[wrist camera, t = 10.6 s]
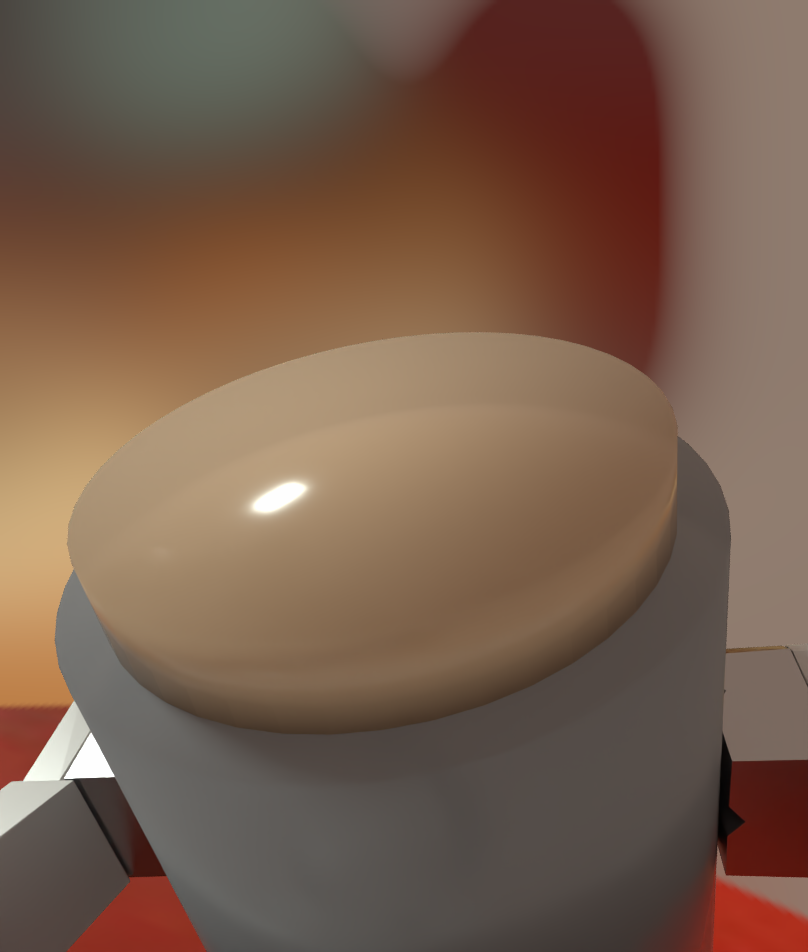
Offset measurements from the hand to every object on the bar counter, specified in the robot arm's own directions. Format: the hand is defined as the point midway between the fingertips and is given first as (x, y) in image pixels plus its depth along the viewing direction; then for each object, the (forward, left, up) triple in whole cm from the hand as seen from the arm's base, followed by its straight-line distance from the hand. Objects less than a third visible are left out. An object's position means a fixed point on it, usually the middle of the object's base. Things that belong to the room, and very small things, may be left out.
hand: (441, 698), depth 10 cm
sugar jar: (0, -1, -5) cm, 5 cm away
